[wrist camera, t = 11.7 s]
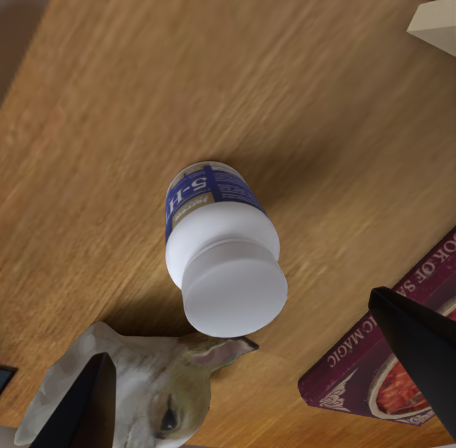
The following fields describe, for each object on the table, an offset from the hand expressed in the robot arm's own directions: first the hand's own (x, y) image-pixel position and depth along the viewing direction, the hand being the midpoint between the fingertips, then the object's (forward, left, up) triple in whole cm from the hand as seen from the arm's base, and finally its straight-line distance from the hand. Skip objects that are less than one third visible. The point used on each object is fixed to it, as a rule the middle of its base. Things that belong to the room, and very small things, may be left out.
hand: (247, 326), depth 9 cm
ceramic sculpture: (-1, -14, -10) cm, 17 cm away
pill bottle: (0, 0, -10) cm, 10 cm away
